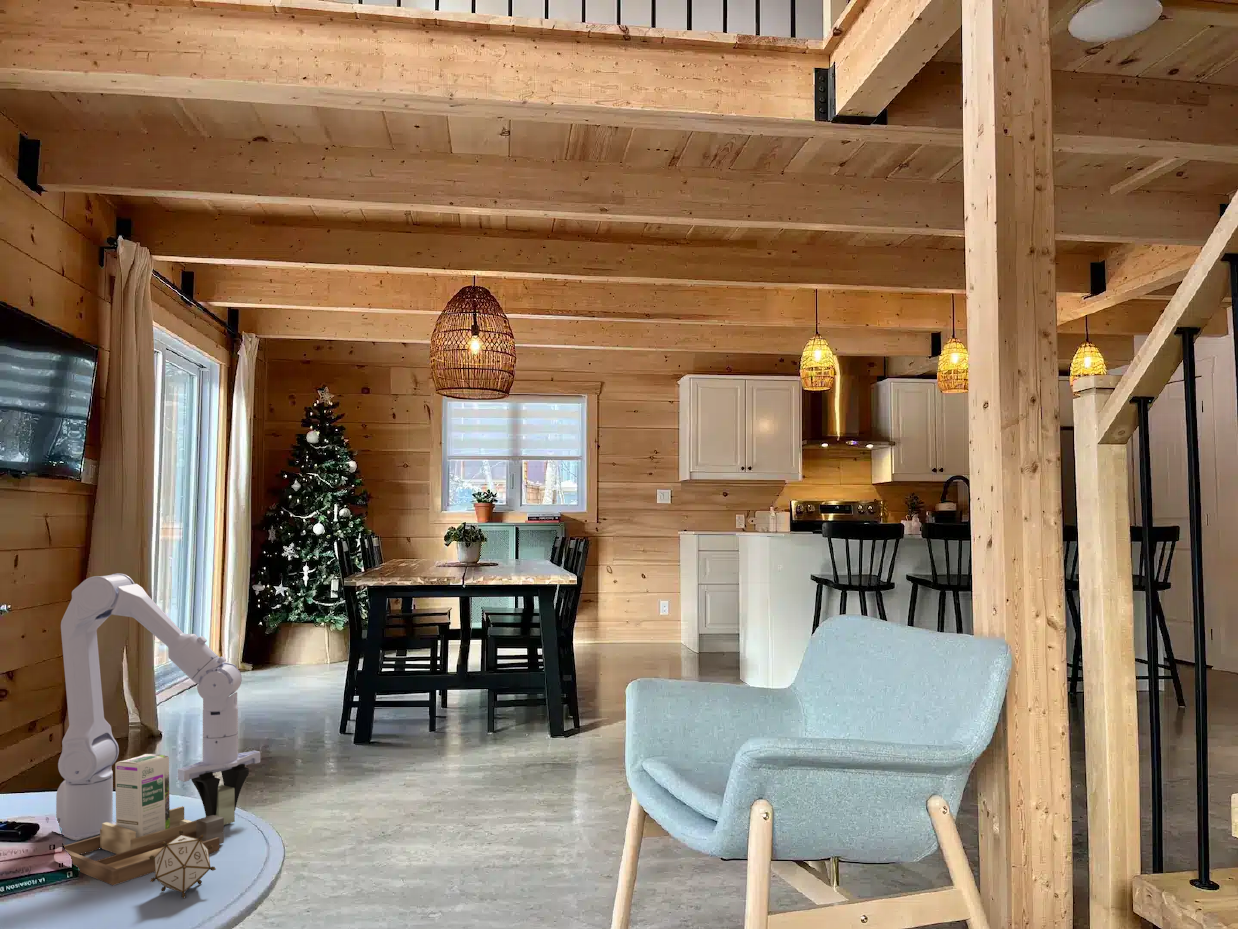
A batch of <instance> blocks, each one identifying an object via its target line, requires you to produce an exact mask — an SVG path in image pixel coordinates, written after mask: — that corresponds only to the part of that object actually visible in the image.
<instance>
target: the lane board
mask: <svg viewBox="0 0 1238 929" xmlns="http://www.w3.org/2000/svg"><path fill="white" fill-rule="evenodd" d="M183 835H185V836H189V837H193V838H196V830H195V831H192V832H189V833H185V834H183ZM177 837H178V836H176V837H172V838H169V839H166V840H162V841H166V842H167V844H168V843H169V842H171V841H172V840H174V839H175V838H177ZM162 841H159V842H156V843H152V844H149V845H146V846H143V847H139V848H136V849H133V850H129V851H126V852H123V853H120V854H112V855H111V856H107V857H104V858H101V859H97V860H94V859H92V858H90V857H86V856H84V855H83V854H81V853H85V852H88V853H90V852H94V850H95V851H97V849H98V850H100V849H99V848H100V834H98V835H95V836H91V837H88V838H84V839H81V840H77V841H75V842H72V843H68V844H64V845H63V846H64V848H65V850H66V851H67V852H68V853H69V854H70V856H71V859H72V861H73V863H74V865H77V866H78V867H79V869H80V872H79V873H82V874H84V875H86V876H89V877H91V878H94V879H96V880H98V881H102V882H104V883H106V884H109V885H111V886H115V885H118V884H122V883H125V882H128V881H131V880H134V879H137V878H139V877H143V876H147V875H149V874H152V873H155V864H154V859H153V860H152V859H151V860H150V859H146V860H143V861H140V862H137V863H134V864H131V865H127V866H124V867H121V868H118V869H115V868H113V867H110V866H108V865H107V864H110V863H113V862H116V861H119V860H123V859H126V858H129V857H132V856H136V855H139V854H142V853H145V852H149V851H152V850H155V849H158V848H162V847H164V846H163V845H162ZM203 844H204V845H205V846H206V847H207V848H208V846H210V845H211V846H213V847H212V849H210V850H208V852H209V855H210V854H212V853H216V852H219V851H220V844H219V838H218V837H216V838H213V839H210V840H207V841H203ZM79 854H81V855H79ZM85 854H86V853H85Z"/></svg>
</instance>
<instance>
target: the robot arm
mask: <svg viewBox="0 0 1238 929" xmlns="http://www.w3.org/2000/svg"><path fill="white" fill-rule="evenodd" d="M112 615H113V616H119V617H120V616H122V617H128V618H132V619H135V621H137V622H138V623H140V624H141V625H142V626H143V627H144V628H145V629H147V631H148V632H150V633H151V634H152V635H154V636H155V637H156V638H157V639H158V640H159V641H160V642H161V643H163V644H164V645H165V646H167V651H168V654H167V655H168V659H169V660H170V661H171V662H172V663H173V664H174V665H175V666H176V667H177V668H178V669H179V670H181V671H182V672H183V673H184V674H185V675H186V676H187V677H188V679H190V680H191V681H192V682H193V683H195V684H198V685H196V690H197V692H198V695H199V696H200V697H201V698H202V760H201V761H197V762H195V763H192V764H189V765H187V766H184V767H180V768H177V781H179V782H180V781H181V782H188V781H191V782H192V784H193V786H194V787H195V789H196V790H197V792H198V794H199V796H200V799H201V802H202V805H203V809H204V814H205V817H206V816H211V815H216V809H217V791H218V786H219V785H220V782H221V779H220V778H218V777H216V775H214V774H216V773H221V778H222V781H223V782H222V783H223V785H224V786H228V787H232V788H234V789H235V810H237V805H238V800H239V797H240V793H241V791H242V788H243V786H244V783H245V781H246V779H247V778H248V776H249V773H250V769H249V767H246V766H247V765H251V764H259V763H261V751H258V750H251V751H244V752H239V706H238V692H237V691H238V690H239V689H240V687H241V684H242V681H243V679H242V678H243V677H242V674H241V671H240V670H239V669H238V667H237V665H236V664H235V663H231V662H228V661H227V662H226V660H227V658H225V657H223V656H219V655H218V654H216V653H215V651H213V649H212V648H211V647H209V646H208V645H207V644H206V643H207V642H208V640H207V639H206V638H205V637H204V636H203V635H201V636H197V634H196V633H184V632H183V631H182V630H181V629H180V628H179V626H177V625H176V623H175V622H173V620H172V619H171V618H170V617H169V616H168V615H167V614H166V613H165V612H164V611H163V610H162V608H160V606H159V605H157V603H156V602H155V601H154V600H153V599H152V598H151V597H150V596H149V595H148V593H147V591H145V589H144V587H142V586H141V585H139V584H138V583H135V582H134V580H133V579H132V578H131V577H130V576H128V575H127V574H125V573H119V572H117V573H112V574H109V575H101V576H99V575H95V576H89V577H88V578H86V579H84V580H83V581H82V582H81V583H80V584H79V585H77V586H76V587H74V589H73V590H72V591H71V600H70V602H69V604H68V605H67V608H66V610H65V613H64V614H63V617H62V619H61V622H60V632H61V633H60V635H61V643H62V644H61V647H62V656H63V668H64V669H63V670H64V678H65V681H64V683H65V691H66V703H67V714H68V717H67V718H68V725H69V726H68V727H67V730H66V732H65V735H64V736H63V738H62V740H61V745H62V748H61V749H62V750H61V754H60V755H59V756H60V757H59V759H58V762H57V768H58V772H59V774H60V776H61V777H62V778H63V779H64V780H63V781H62V782H61V783H60V784H59V786H58V788H57V791H56V796H55V797H56V800H55V805H56V807H55V810H56V812H55V813H56V814H55V816H56V817H55V818H57V821H58V823H59V826H60V827H61V828H62V834H64V835H65V836H64V838H67V839H70V840H73V841H81V840H85V839H89V838H92V837H96V836H99V835H100V829H102V823H105V822H108V823H111V824H114V825H116V821H113V820H114V819H113V817H114V816H113V813H114V812H113V810H114V809H113V808H114V807H113V806H114V805H113V802H114V799H113V794H114V792H113V791H114V787H113V786H114V785H113V784H114V783H113V782H114V780H113V779H114V776H113V773H114V772H113V770H112V769H113V767H112V766H113V765H114V764H116V761H117V760H118V758H119V753H120V748H119V744H118V742H117V740H116V739H115V737H114V735H113V733H112V726H111V724H110V723H109V722H108V721H107V720H106V718H105V712H104V699H103V691H102V690H103V688H102V687H103V686H102V679H101V667H100V666H101V664H100V655H99V643H98V633H97V632H98V628H100V627H101V625H103V623H104V622H105V621H106V620H107V619H108V618H109V617H111V616H112Z"/></svg>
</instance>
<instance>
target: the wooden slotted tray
mask: <svg viewBox="0 0 1238 929" xmlns="http://www.w3.org/2000/svg"><path fill="white" fill-rule="evenodd" d="M235 812H236V809H235V789H234V788H232V787H228V786H224V784H219V786H218V791H217V809H216V816H219V817H223V818H224V826H226V825H229V824H232V823H235V816H236V815H235V814H236V813H235ZM169 813H170V828H168V829H165V830H161V831H158V832H154V833H151V834H148V835H144V836H141V837H137V838H136V832H135V831H132V830H129V829H126V828H123V827H120V826H117V825H114V824H111V823H108V822H105V823H102V829H100V834H99V835H100V848H102V849H101V850H105V851H107V852H110V853H112V854H114V855H116V854H120V853H123V852H126V851H129V850H133V849H136V848H139V847H143V846H146V845H149V844H152V843H156V842H159V841H162V840H166V839H169V838H172V837H176V836H179V835H180V834H179V831H180V830H182V831H183V834H185V833H189V832H192V831H195V830H196V820H197V819H196V820H193V821H192V820H189V819H185V806H183V805H182V806H178V807H175V808H171V809H170V811H169ZM205 817H208V816H206V815H205Z"/></svg>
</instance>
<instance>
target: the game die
mask: <svg viewBox="0 0 1238 929" xmlns="http://www.w3.org/2000/svg"><path fill="white" fill-rule="evenodd" d="M179 834H180V835H179V836H178V837H177V838H175V839H174V840H172V841H171V842H169V843H168V844H167V842H166V841H162V845H163V846H164V847H163V848H162V850H161V851H160V852H159V853H158V854H157V855H156V856H155V857H154V856H152V855H151V856H150V857H149V858H150V860H151V859H152V860H153V859H154V864H155V872H154V877H152V878H151V879H150V880H149V882H151V883H153V882H155V881H158V882H159V884H160V885H161V886H162V887H161V890H160V891H161V893H162V892H164V891H166V890H167V889H169V890H174V891H175V892H176V891H177V892H179V893H181V898H183V899H185V898H186V896H187V895H186V891H188V890H189V889H190V888H192V887H193V886H194V885H195V884H197V885H202V884H203V882H202V880H201V879H202V878H203V877H204V876H205V875H206V874H207V873H208V872H209V870H210V871H215V870H217V868H216V867H215V866H211V862H210V854H209V852H208V850H210V849H212V847H213V846H211V845H210V846H208V848H207V847H206V846H205V845H204V844H203V842H202V841H201V839H202V838H203V835H200V837H199V839H197V838H193V837H189V836H185V835H183V831H182V830H180V831H179ZM201 883H202V884H201ZM184 897H185V898H184Z"/></svg>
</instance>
